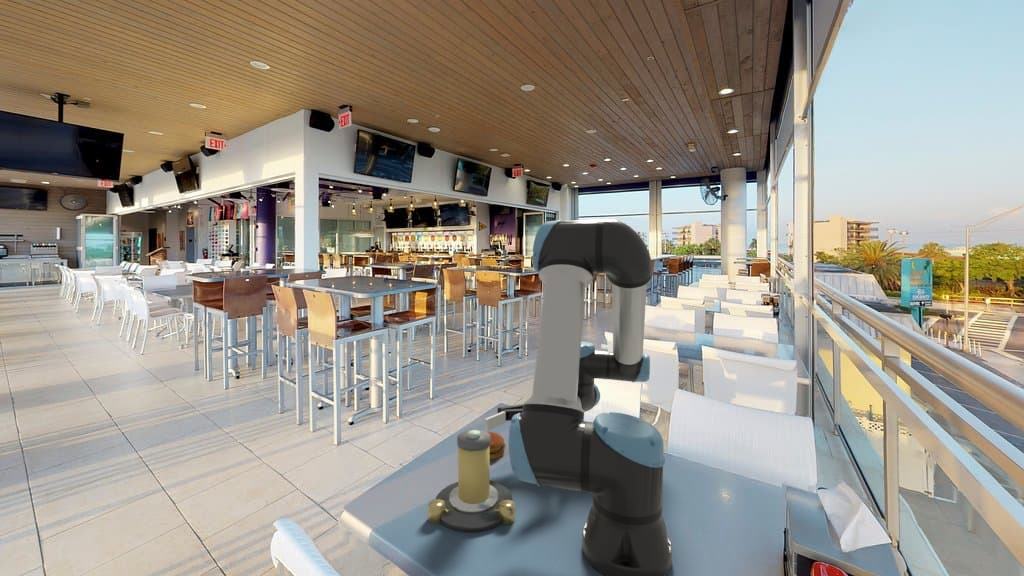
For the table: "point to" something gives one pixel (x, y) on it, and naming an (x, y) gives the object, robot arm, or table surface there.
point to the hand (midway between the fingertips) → (507, 432)
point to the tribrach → (472, 509)
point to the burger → (496, 445)
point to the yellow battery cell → (473, 466)
